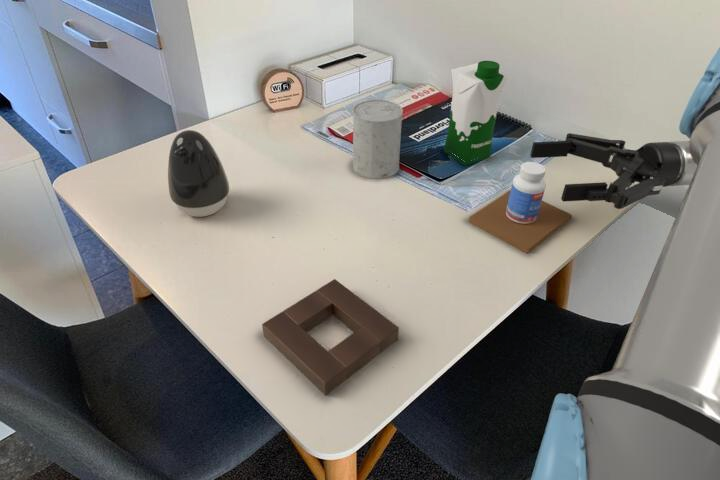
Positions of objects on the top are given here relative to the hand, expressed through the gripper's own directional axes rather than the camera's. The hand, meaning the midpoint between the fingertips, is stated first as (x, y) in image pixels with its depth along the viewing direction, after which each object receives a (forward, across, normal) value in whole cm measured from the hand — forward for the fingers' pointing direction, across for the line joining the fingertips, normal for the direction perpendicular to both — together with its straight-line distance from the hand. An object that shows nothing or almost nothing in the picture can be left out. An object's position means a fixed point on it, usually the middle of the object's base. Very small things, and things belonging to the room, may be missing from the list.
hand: (547, 170), depth 86 cm
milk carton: (+6, +24, -10) cm, 27 cm away
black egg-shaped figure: (+59, +9, -10) cm, 60 cm away
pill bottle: (+2, 0, -9) cm, 10 cm away
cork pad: (+2, 0, -10) cm, 11 cm away
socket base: (+38, -24, -10) cm, 46 cm away
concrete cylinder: (+26, +21, -10) cm, 35 cm away
